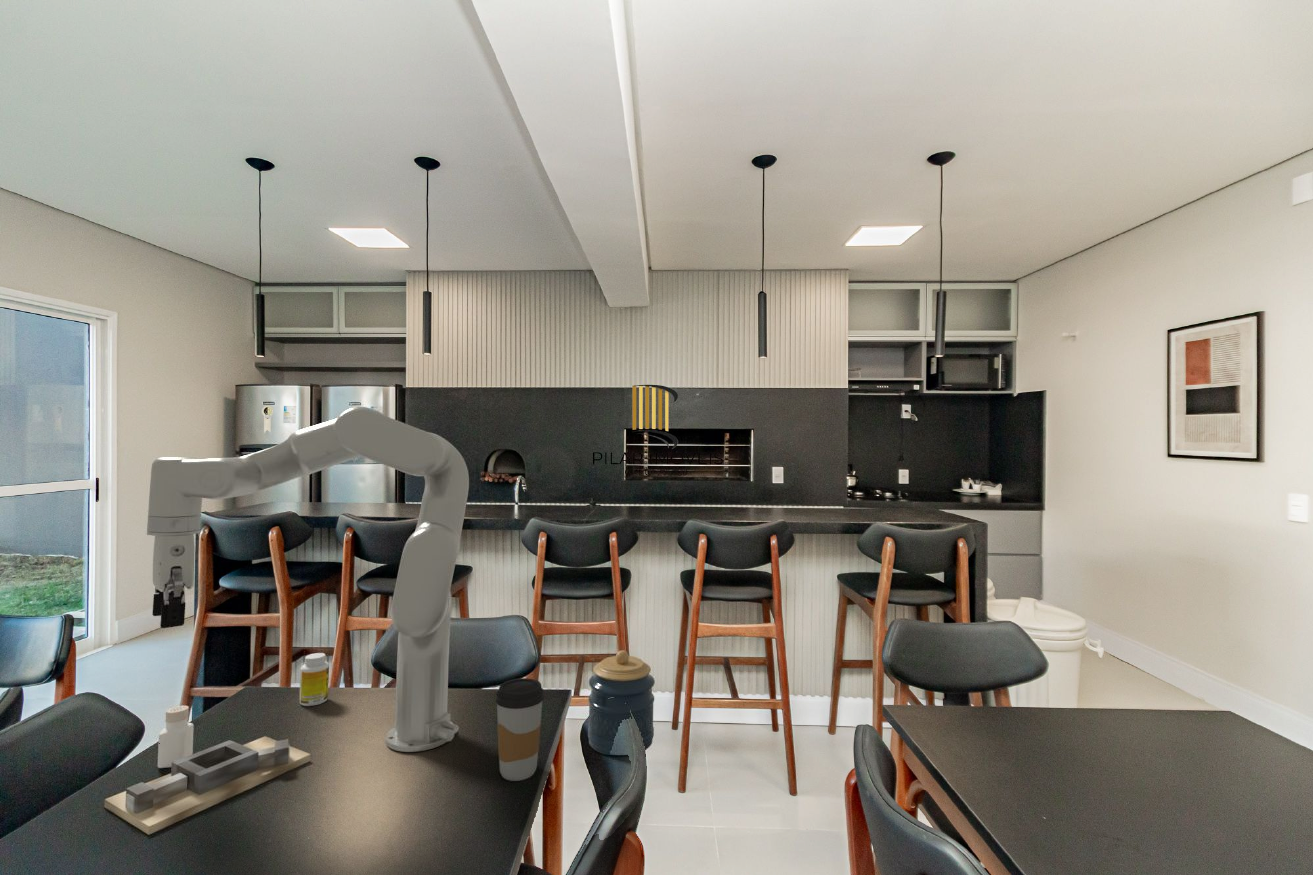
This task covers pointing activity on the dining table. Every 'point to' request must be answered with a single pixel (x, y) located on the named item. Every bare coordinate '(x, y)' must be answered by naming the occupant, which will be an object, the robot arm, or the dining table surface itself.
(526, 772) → the coffee cup
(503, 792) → the dining table surface
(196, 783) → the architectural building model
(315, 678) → the supplement bottle
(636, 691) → the canister
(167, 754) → the pepper shaker
